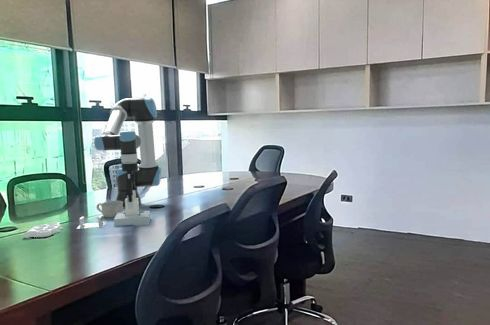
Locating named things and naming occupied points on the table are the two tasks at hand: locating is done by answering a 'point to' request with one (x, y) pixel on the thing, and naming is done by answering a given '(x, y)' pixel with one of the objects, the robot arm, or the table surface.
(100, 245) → the table surface
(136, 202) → the plug
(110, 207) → the teacup
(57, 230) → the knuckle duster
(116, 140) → the robot arm
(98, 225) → the holster
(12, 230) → the table surface
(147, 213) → the switch box
